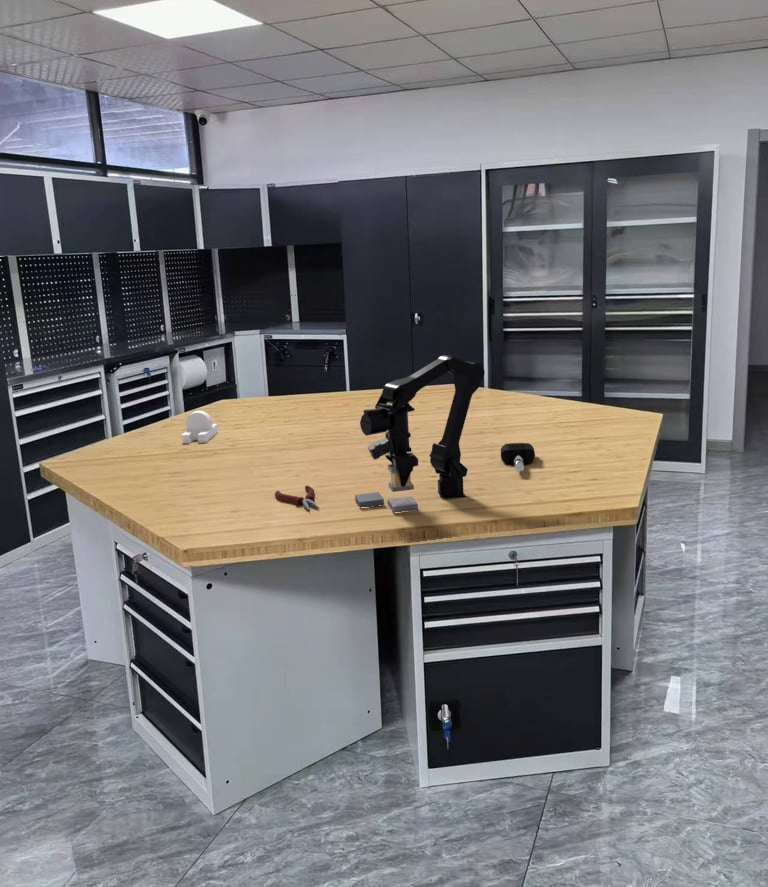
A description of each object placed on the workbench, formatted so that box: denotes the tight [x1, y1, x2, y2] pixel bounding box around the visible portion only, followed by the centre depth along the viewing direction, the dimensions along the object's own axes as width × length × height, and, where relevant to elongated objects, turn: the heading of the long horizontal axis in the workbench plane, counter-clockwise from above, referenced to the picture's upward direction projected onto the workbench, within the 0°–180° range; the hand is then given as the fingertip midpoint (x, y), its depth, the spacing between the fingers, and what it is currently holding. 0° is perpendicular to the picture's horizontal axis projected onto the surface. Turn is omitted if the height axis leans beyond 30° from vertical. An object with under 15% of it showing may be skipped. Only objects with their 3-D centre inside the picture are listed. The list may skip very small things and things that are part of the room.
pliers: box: [274, 485, 320, 512], centre depth 240 cm, size 12×20×3 cm, turn 25°
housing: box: [387, 463, 415, 493], centre depth 228 cm, size 6×5×6 cm
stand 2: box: [387, 496, 419, 514], centre depth 230 cm, size 7×7×2 cm
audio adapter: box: [500, 442, 536, 474], centre depth 263 cm, size 11×5×25 cm
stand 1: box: [354, 491, 385, 509], centre depth 235 cm, size 7×7×2 cm
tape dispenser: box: [181, 410, 219, 444], centre depth 327 cm, size 10×18×11 cm, turn 176°
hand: (401, 483), depth 228 cm, fingers closed on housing, 5 cm apart
